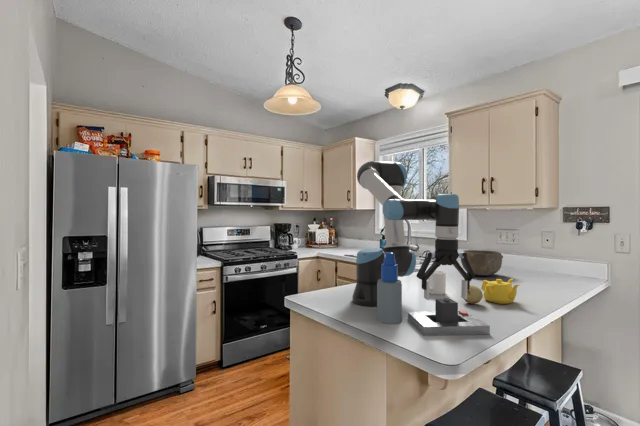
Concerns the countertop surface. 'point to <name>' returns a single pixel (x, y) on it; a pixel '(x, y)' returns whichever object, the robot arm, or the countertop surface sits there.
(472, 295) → the fruit
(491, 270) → the bowl
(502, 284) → the teapot
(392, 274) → the spray bottle
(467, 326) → the socket plate
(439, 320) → the plug
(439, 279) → the mug
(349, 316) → the countertop surface
